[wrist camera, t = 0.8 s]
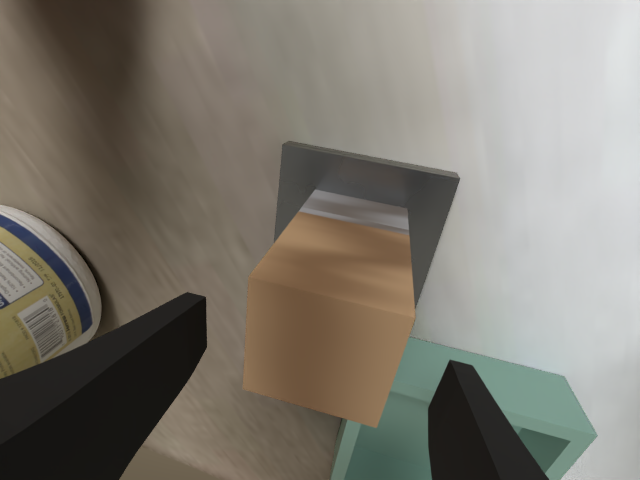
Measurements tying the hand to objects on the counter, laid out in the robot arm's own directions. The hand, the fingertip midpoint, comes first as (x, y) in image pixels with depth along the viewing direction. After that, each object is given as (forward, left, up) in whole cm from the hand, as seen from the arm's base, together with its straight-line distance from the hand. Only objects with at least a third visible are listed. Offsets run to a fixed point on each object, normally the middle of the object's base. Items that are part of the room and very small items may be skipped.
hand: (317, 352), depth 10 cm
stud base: (0, 0, -9) cm, 9 cm away
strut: (0, 0, -8) cm, 8 cm away
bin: (-8, +11, -9) cm, 16 cm away
